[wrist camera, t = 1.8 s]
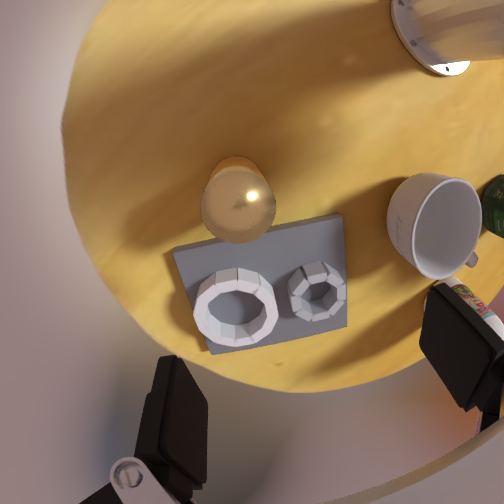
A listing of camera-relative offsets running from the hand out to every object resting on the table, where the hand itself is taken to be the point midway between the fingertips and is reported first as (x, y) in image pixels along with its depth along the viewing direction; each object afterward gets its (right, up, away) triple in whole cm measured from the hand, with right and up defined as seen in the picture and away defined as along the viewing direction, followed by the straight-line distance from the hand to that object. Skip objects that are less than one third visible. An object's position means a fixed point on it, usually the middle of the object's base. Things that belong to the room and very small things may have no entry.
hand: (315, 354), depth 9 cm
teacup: (+18, +8, +21) cm, 29 cm away
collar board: (0, -1, +24) cm, 24 cm away
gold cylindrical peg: (-4, +11, +18) cm, 21 cm away
